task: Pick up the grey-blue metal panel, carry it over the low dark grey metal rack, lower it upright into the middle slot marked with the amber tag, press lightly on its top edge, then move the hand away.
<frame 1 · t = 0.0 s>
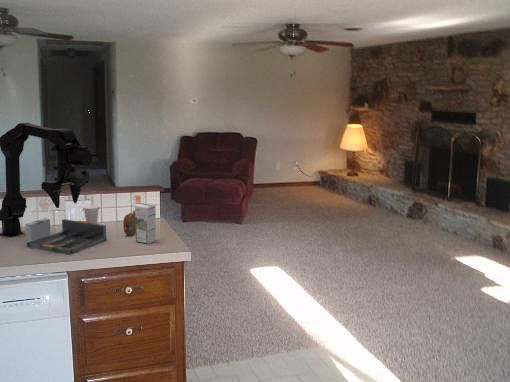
hand: (66, 205, 202), 15 cm above the counter, tool pointing down, fingers open, 9 cm apart
panel: (38, 238, 210), on the counter
smoothie: (92, 229, 225), on the counter
rack: (67, 243, 205), on the counter
tin: (133, 232, 223), on the counter
syrup box: (146, 241, 210), on the counter
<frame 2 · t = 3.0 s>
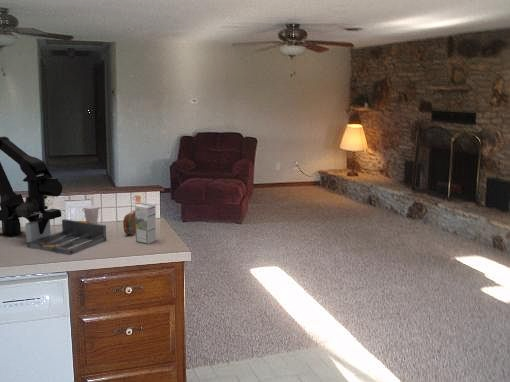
hand: (38, 233, 210), 2 cm above the counter, tool pointing down, fingers closed on panel, 2 cm apart
panel: (38, 238, 210), on the counter, touching gripper
everything else where it was.
when the fingers open (3 cm above the counter, at t = 8.8 s): panel stays where it is, resting in rack.
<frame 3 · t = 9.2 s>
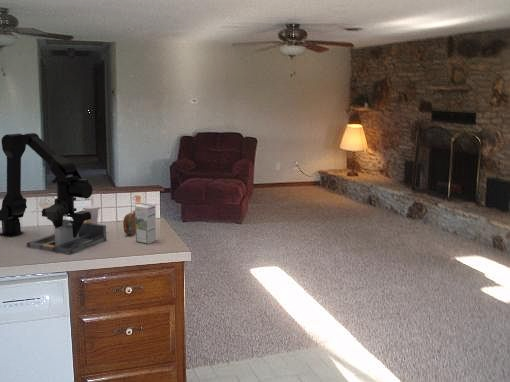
hand: (67, 236, 204), 3 cm above the counter, tool pointing down, fingers open, 7 cm apart
panel: (67, 243, 205), resting in rack
everything else where it was.
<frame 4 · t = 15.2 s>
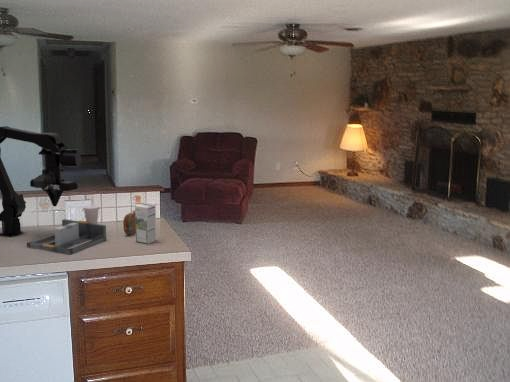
hand: (54, 206, 212), 12 cm above the counter, tool pointing down, fingers closed
nothing on the counter moved.
at the end: panel 0.0 cm off-centre on the rack, point 0.0 cm above the rack's base; panel tilted 0°; the gripper is holding nothing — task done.
